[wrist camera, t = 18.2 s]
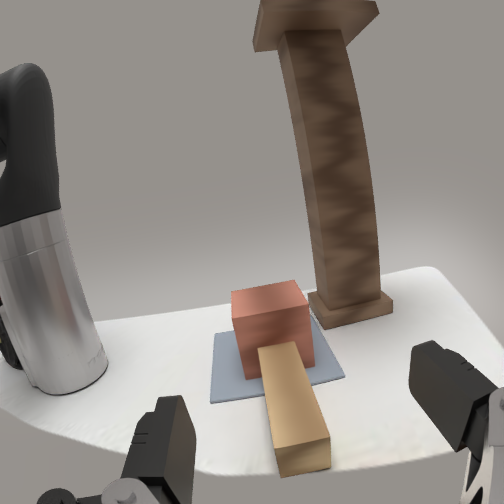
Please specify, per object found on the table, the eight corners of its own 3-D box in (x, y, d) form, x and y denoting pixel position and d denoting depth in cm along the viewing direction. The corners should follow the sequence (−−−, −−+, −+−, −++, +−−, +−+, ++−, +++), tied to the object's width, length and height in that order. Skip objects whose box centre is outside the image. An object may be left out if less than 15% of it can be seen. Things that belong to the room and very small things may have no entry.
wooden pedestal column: (318, 349, 29) (260, -1, 21) (297, 306, 39) (252, 43, 31) (419, 321, 29) (375, 1, 21) (378, 288, 39) (341, 38, 32)
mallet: (255, 482, 15) (234, 415, 14) (242, 345, 32) (231, 291, 30) (355, 460, 15) (357, 388, 14) (301, 334, 32) (294, 279, 30)
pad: (210, 403, 24) (209, 401, 24) (215, 335, 35) (214, 333, 35) (345, 377, 24) (345, 375, 24) (311, 316, 36) (311, 315, 36)
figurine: (58, 353, 35) (21, 242, 31) (17, 376, 29) (-28, 260, 26) (34, 338, 40) (4, 245, 37) (-1, 356, 34) (-35, 260, 31)
